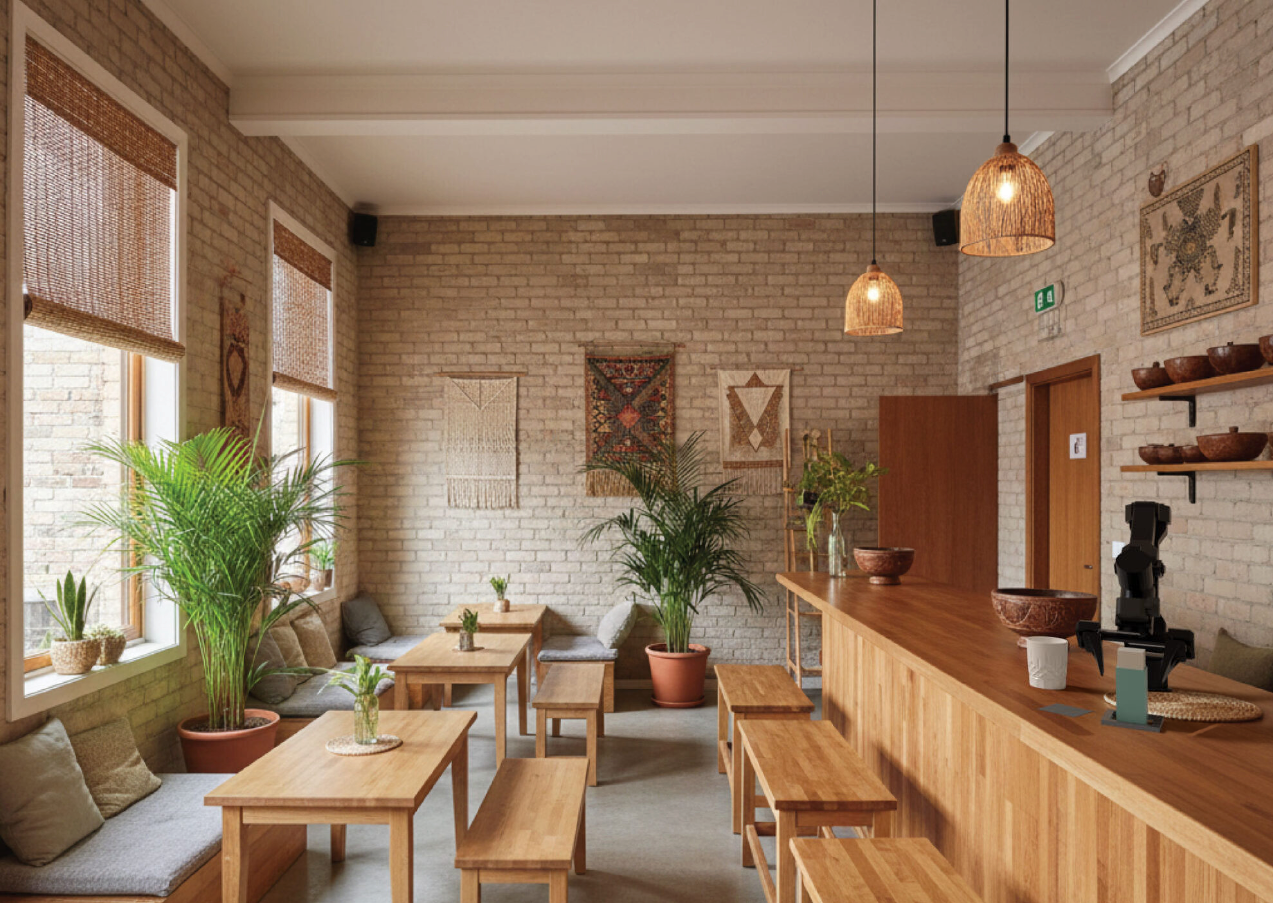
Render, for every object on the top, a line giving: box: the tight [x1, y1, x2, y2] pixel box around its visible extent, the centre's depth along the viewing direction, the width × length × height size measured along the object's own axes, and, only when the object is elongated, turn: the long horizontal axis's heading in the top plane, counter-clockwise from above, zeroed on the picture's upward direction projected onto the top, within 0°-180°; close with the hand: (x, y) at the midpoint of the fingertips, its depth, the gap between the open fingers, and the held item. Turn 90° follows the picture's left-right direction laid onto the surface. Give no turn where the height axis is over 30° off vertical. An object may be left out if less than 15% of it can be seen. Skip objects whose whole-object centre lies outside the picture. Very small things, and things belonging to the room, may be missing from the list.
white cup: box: [1025, 635, 1069, 690], centre depth 183 cm, size 8×8×10 cm
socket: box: [1100, 708, 1165, 734], centre depth 156 cm, size 12×12×1 cm
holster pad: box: [1038, 702, 1094, 718], centre depth 164 cm, size 7×7×1 cm
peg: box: [1115, 646, 1149, 724], centre depth 156 cm, size 4×4×13 cm
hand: (1130, 678), depth 155 cm, fingers open, 9 cm apart
